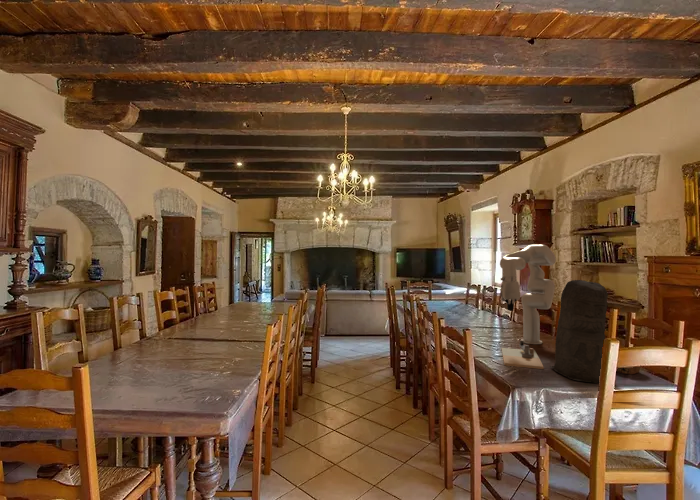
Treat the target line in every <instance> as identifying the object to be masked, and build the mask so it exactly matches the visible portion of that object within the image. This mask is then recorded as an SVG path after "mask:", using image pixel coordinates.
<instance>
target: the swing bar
mask: <svg viewBox="0 0 700 500" xmlns="http://www.w3.org/2000/svg"><path fill="white" fill-rule="evenodd" d="M525 345H526V344H525V343H524V341H521V340H520V341H519V345H518V346H519V348H520V349H522V350H523V351H524V352H525Z"/></svg>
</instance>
